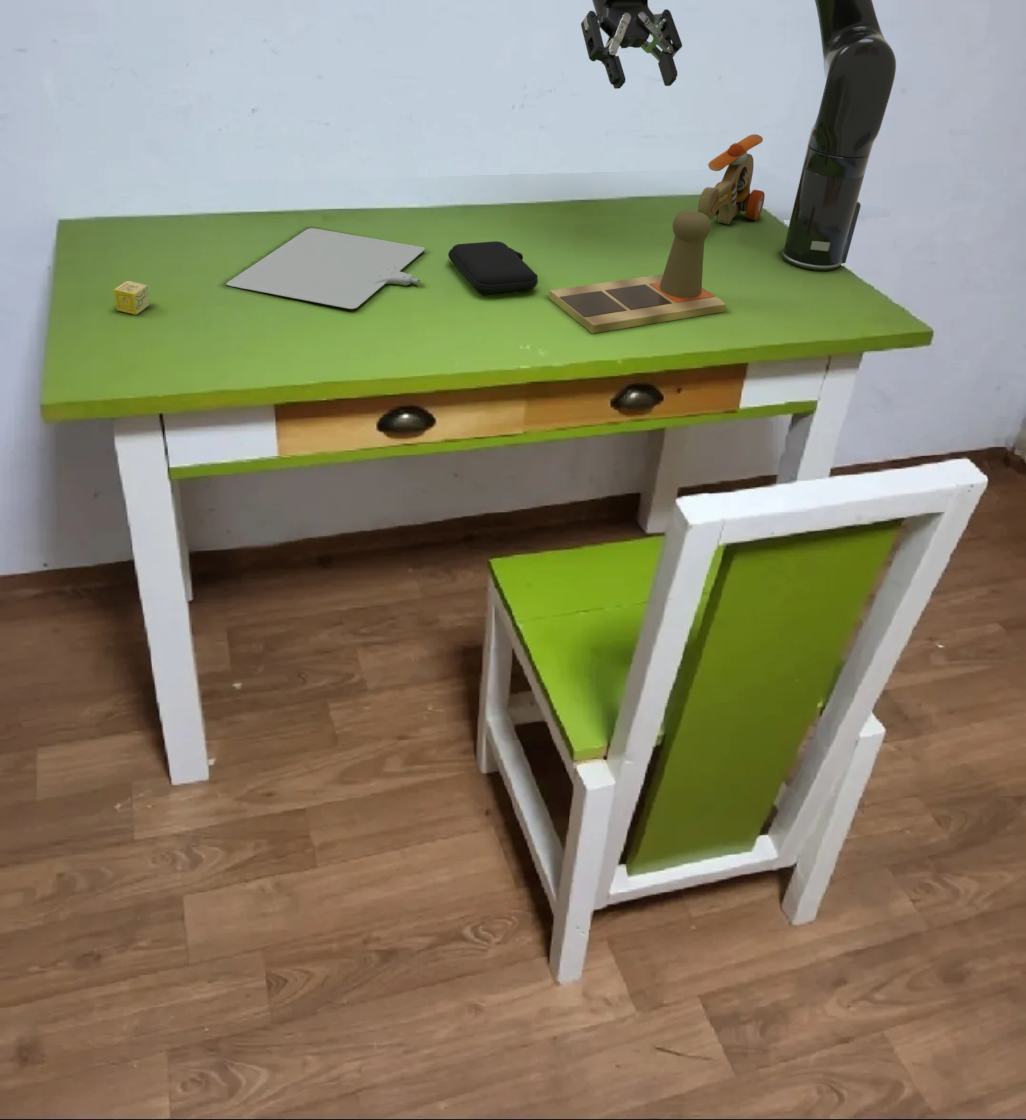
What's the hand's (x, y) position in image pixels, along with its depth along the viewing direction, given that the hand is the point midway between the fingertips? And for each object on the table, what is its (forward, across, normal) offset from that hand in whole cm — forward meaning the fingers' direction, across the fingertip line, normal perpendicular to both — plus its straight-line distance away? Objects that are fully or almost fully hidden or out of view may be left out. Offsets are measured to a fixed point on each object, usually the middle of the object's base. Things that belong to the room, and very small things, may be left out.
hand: (646, 84), depth 148 cm
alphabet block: (+15, -72, +21) cm, 77 cm away
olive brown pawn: (+28, 0, +6) cm, 29 cm away
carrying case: (+18, -22, +17) cm, 34 cm away
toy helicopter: (+12, +25, +24) cm, 37 cm away
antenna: (+12, -42, +24) cm, 50 cm away
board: (+29, -8, +7) cm, 31 cm away
